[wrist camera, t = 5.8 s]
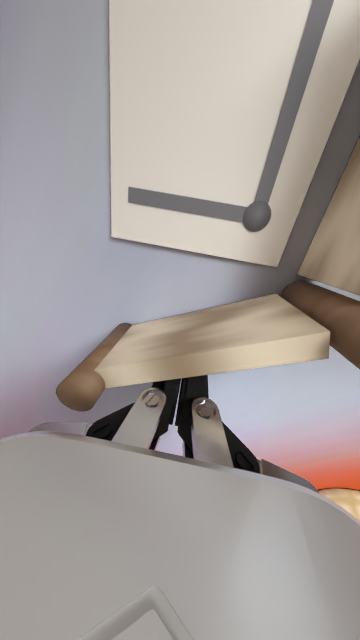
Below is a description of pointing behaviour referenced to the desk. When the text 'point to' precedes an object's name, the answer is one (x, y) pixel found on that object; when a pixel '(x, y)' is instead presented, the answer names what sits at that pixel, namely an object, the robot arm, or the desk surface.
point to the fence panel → (197, 347)
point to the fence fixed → (335, 266)
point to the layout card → (223, 117)
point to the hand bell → (344, 499)
